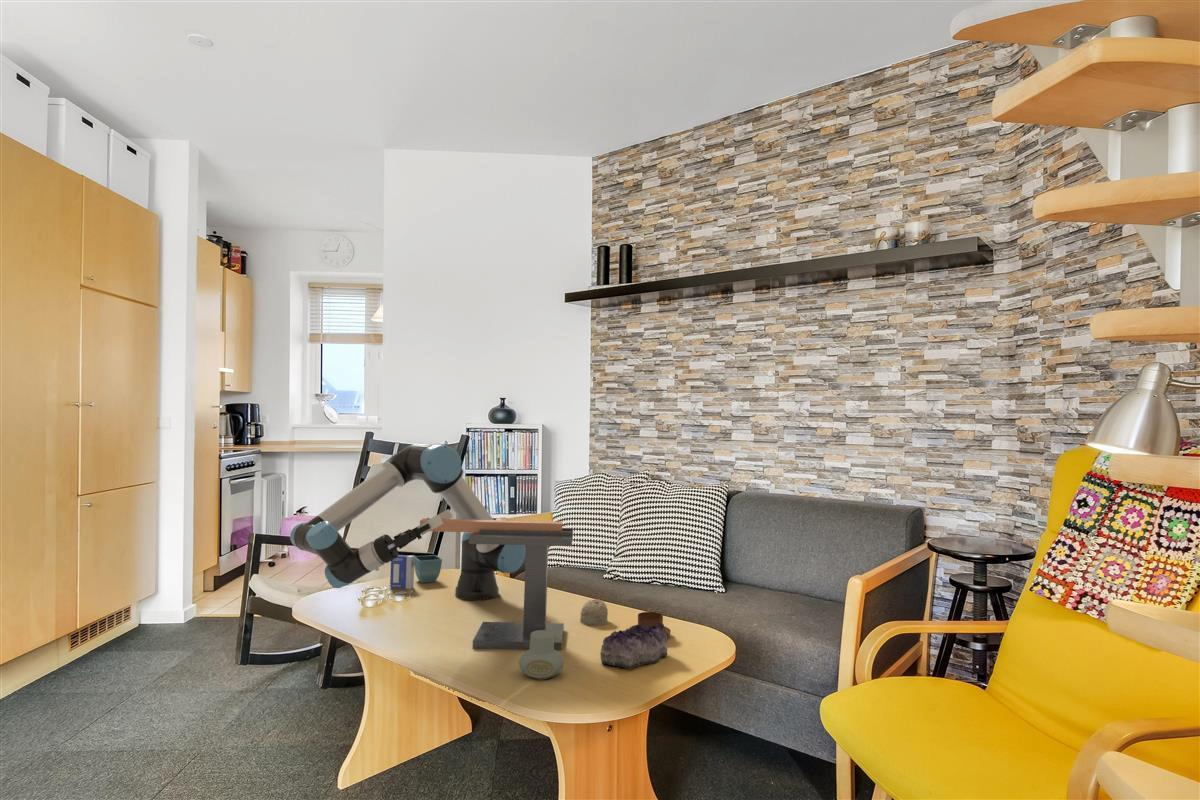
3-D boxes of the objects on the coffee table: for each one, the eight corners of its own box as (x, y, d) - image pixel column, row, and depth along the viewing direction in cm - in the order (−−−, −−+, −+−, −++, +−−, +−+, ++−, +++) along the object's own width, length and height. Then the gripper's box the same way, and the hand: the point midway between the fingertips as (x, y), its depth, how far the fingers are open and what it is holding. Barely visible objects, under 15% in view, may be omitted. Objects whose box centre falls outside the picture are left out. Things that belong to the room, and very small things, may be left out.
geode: (644, 646, 189) (649, 611, 189) (675, 663, 181) (681, 627, 180) (590, 659, 175) (596, 621, 175) (621, 678, 167) (627, 638, 166)
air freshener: (564, 669, 169) (565, 628, 170) (562, 681, 161) (563, 639, 162) (520, 668, 169) (521, 627, 170) (516, 680, 161) (517, 638, 162)
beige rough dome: (608, 635, 210) (615, 606, 215) (598, 624, 204) (606, 595, 209) (583, 630, 214) (591, 602, 219) (573, 620, 207) (581, 591, 212)
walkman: (389, 588, 246) (391, 555, 247) (392, 586, 249) (394, 553, 250) (411, 589, 246) (412, 556, 246) (413, 587, 248) (414, 554, 249)
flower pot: (441, 582, 257) (442, 558, 258) (418, 584, 253) (419, 560, 253) (435, 578, 265) (435, 554, 265) (412, 580, 260) (413, 556, 261)
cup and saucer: (677, 635, 200) (678, 614, 200) (657, 645, 190) (658, 623, 190) (642, 627, 207) (643, 607, 207) (621, 637, 197) (622, 616, 197)
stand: (465, 648, 183) (469, 532, 184) (475, 628, 201) (479, 523, 202) (568, 650, 184) (571, 535, 185) (570, 630, 202) (573, 525, 203)
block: (419, 531, 191) (420, 520, 191) (423, 528, 195) (423, 518, 195) (561, 534, 192) (561, 523, 192) (562, 532, 196) (562, 521, 196)
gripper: (398, 555, 205) (460, 521, 206) (372, 573, 180) (442, 534, 181) (386, 533, 205) (448, 499, 206) (358, 548, 180) (429, 509, 181)
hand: (446, 516), depth 193 cm, fingers open, 13 cm apart
